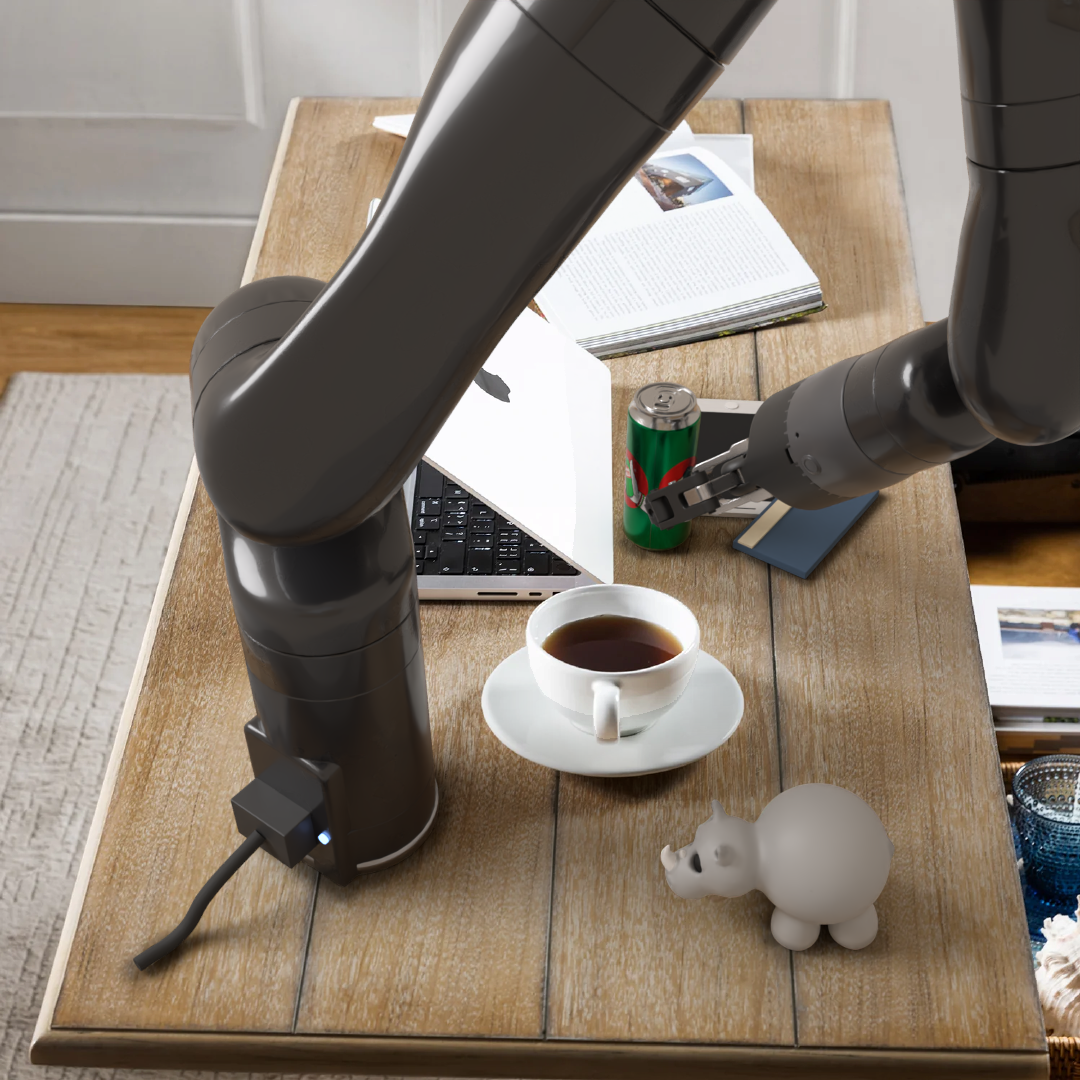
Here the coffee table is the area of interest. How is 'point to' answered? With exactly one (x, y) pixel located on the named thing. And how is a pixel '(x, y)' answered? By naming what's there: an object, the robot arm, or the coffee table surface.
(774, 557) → the notebook
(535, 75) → the robot arm
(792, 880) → the toy rhinoceros
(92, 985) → the coffee table surface
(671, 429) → the soda can
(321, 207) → the coffee table surface
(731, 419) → the smartphone
